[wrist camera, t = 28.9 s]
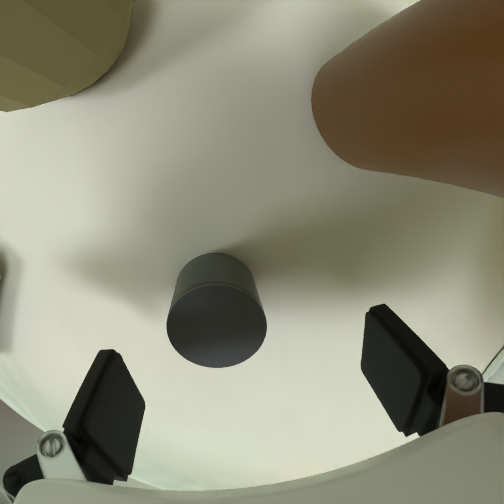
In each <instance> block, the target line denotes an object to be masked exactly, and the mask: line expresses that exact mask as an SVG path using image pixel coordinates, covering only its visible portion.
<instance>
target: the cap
mask: <svg viewBox="0 0 504 504" xmlns="http://www.w3.org/2000/svg"><path fill="white" fill-rule="evenodd" d="M266 332H267V322H266V317H265V314H264V311H263V308H262V305H261V301H260V298H259V295H258V292H257V289H256V286H255V283H254V280H253V277H252V275H251V273H250V271H249V270H248V268H247V267H246V266H245V265H244V264H243V263H242V262H240V261H239V260H238V259H236V258H234V257H231V256H229V255H225V254H219V253H212V254H206V255H202V256H199V257H197V258H195V259H193V260H192V261H190V262H189V263H188V264H187V265H186V266H185V267H184V268H183V270H182V271H181V273H180V275H179V277H178V280H177V284H176V287H175V291H174V295H173V298H172V302H171V306H170V310H169V314H168V318H167V334H168V337H169V340H170V342H171V344H172V345H173V347H174V348H175V350H176V351H177V352H178V353H179V354H180V355H181V356H183V357H184V358H185V359H187V360H189V361H191V362H193V363H195V364H197V365H201V366H205V367H212V368H222V367H229V366H233V365H236V364H239V363H241V362H243V361H245V360H247V359H248V358H250V357H251V356H252V355H254V354H255V353H256V352H257V351H258V349H259V348H260V347H261V345H262V343H263V341H264V339H265V336H266Z"/></svg>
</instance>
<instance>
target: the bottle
mask: <svg viewBox="0 0 504 504" xmlns="http://www.w3.org/2000/svg"><path fill="white" fill-rule="evenodd" d="M311 102H312V111H313V116H314V119H315V122H316V125H317V128H318V130H319V132H320V134H321V136H322V137H323V139H324V140H325V142H326V143H327V145H328V146H329V147H330V148H331V149H332V150H333V151H334V152H335V154H336V155H338V156H339V157H340V158H341V159H343V160H344V161H346V162H347V163H349V164H351V165H353V166H355V167H357V168H361V169H364V170H370V171H377V172H384V173H391V174H397V175H404V176H410V177H415V178H421V179H426V180H431V181H436V182H441V183H446V184H451V185H455V186H460V187H464V188H468V189H472V190H476V191H480V192H484V193H488V194H492V195H495V196H499V197H503V198H504V0H420V1H419V2H417V3H415V4H413V5H412V6H410V7H408V8H406V9H405V10H403V11H401V12H400V13H398V14H396V15H395V16H393V17H391V18H390V19H388V20H387V21H385V22H383V23H382V24H380V25H379V26H377V27H376V28H374V29H373V30H371V31H370V32H368V33H367V34H365V35H364V36H362V37H361V38H359V39H358V40H357V41H355V42H354V43H352V44H351V45H350V46H348V47H347V48H345V49H344V50H343V51H341V52H340V53H339V54H337V55H336V56H334V57H333V58H332V59H330V60H329V61H328V62H327V63H326V64H325V65H324V66H323V67H322V68H321V69H320V71H319V72H318V74H317V76H316V78H315V81H314V84H313V88H312V97H311Z"/></svg>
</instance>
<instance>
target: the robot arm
mask: <svg viewBox="0 0 504 504" xmlns="http://www.w3.org/2000/svg"><path fill="white" fill-rule="evenodd" d="M361 370H362V372H363V374H364V376H365V377H366V379H367V381H368V382H369V384H370V385H371V387H372V389H373V390H374V392H375V394H376V395H377V397H378V399H379V400H380V402H381V403H382V405H383V407H384V408H385V410H386V412H387V413H388V415H389V417H390V418H391V420H392V422H393V424H394V425H395V427H396V429H397V430H398V431H399V432H401V431H403V433H404V435H405V436H406V437H407V436H409V435H411V434H413V433H415V432H417V433H418V435H419V436H420V437H419V438H417V439H415V440H413V441H411V442H409V443H406V444H404V445H402V446H399V447H397V448H395V449H392V450H390V451H387V452H385V453H382V454H380V455H377V456H375V457H372V458H369V459H367V460H364V461H361V462H358V463H355V464H352V465H349V466H346V467H343V468H340V469H336V470H333V471H329V472H326V473H322V474H318V475H314V476H310V477H306V478H301V479H297V480H292V481H287V482H282V483H276V484H270V485H263V486H256V487H248V488H239V489H227V490H210V491H167V490H151V489H139V488H130V487H120V486H114V485H113V482H114V480H119V481H127V478H128V475H130V474H131V473H132V468H133V463H134V458H135V453H136V448H137V443H138V438H139V433H140V429H141V424H142V420H143V415H144V411H145V401H144V399H143V397H142V395H141V394H140V392H139V390H138V388H137V386H136V384H135V382H134V381H133V379H132V377H131V375H130V373H129V371H128V369H127V367H126V365H125V363H124V361H123V359H122V357H121V355H120V354H119V353H117V352H116V351H115V350H113V349H109V350H100V351H99V352H98V354H97V356H96V358H95V360H94V362H93V364H92V365H91V367H90V369H89V371H88V373H87V375H86V377H85V379H84V381H83V383H82V385H81V387H80V389H79V391H78V393H77V395H76V397H75V400H74V402H73V404H72V406H71V408H70V410H69V412H68V415H67V417H66V419H65V421H64V424H63V426H62V427H63V428H64V431H63V433H62V432H61V431H58V430H50V431H47V432H45V433H43V434H42V435H41V436H40V438H39V439H38V441H37V443H36V453H37V454H35V455H33V456H31V457H29V458H27V459H25V460H23V461H22V462H20V463H18V464H16V465H14V466H12V467H10V468H9V469H8V470H7V471H6V472H5V474H4V476H3V485H4V486H2V485H1V484H0V504H504V349H503V350H502V351H501V352H500V353H499V354H498V356H497V357H496V358H495V359H494V361H493V362H492V363H491V364H490V366H489V367H488V368H487V370H486V371H485V372H484V374H483V375H482V374H481V373H480V371H478V370H477V369H476V368H474V367H472V366H469V365H458V366H455V367H453V368H452V369H450V370H449V369H448V368H447V367H446V365H445V364H444V363H443V362H442V360H441V359H440V358H439V357H438V356H437V355H436V354H435V353H434V352H433V351H432V350H431V349H430V348H429V347H428V346H427V345H426V344H425V343H424V342H423V341H422V340H421V339H420V338H419V337H418V336H417V335H416V334H415V333H414V332H413V331H412V330H411V329H410V328H409V327H408V326H407V325H406V324H405V323H404V322H403V321H402V320H401V319H400V318H399V317H398V316H397V315H396V314H395V313H394V312H393V311H392V310H391V309H390V308H389V307H388V306H387V305H386V304H380V305H377V306H373V307H371V308H370V309H369V312H366V315H365V328H364V339H363V349H362V358H361Z"/></svg>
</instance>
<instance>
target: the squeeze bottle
mask: <svg viewBox="0 0 504 504" xmlns="http://www.w3.org/2000/svg"><path fill="white" fill-rule="evenodd" d="M133 2H134V0H0V110H1V111H5V112H9V111H14V110H19V109H25V108H31V107H35V106H38V105H41V104H44V103H47V102H50V101H53V100H56V99H60V98H63V97H67V96H71V95H73V94H75V93H77V92H79V91H81V90H83V89H85V88H87V87H89V86H91V85H93V84H94V83H95V82H96V81H97V80H98V79H99V78H100V77H101V76H102V75H104V74H105V73H106V72H107V71H108V70H109V69H110V68H111V67H112V65H113V64H114V62H115V61H116V59H117V58H118V57H119V55H120V54H121V52H122V51H123V49H124V47H125V44H126V40H127V37H128V34H129V31H130V25H131V16H132V9H133Z"/></svg>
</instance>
